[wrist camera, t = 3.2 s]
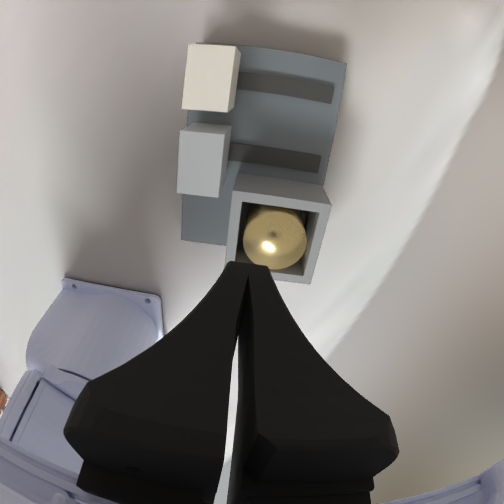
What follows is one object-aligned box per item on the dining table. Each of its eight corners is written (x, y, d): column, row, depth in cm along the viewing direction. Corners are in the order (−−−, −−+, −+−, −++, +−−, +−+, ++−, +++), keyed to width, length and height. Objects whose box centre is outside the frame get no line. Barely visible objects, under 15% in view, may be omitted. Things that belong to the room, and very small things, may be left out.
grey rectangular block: (190, 174, 17) (176, 193, 14) (194, 122, 15) (179, 130, 13) (225, 178, 17) (218, 197, 14) (231, 125, 15) (224, 134, 13)
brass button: (243, 238, 19) (239, 265, 16) (250, 188, 17) (247, 209, 15) (295, 245, 19) (299, 273, 16) (305, 196, 17) (313, 218, 15)
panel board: (186, 229, 21) (169, 266, 17) (201, 45, 14) (181, 34, 11) (303, 244, 21) (311, 284, 17) (340, 65, 15) (363, 60, 11)
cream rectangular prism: (196, 104, 15) (181, 109, 12) (202, 50, 13) (188, 44, 11) (233, 107, 15) (227, 112, 12) (241, 53, 13) (235, 46, 11)
